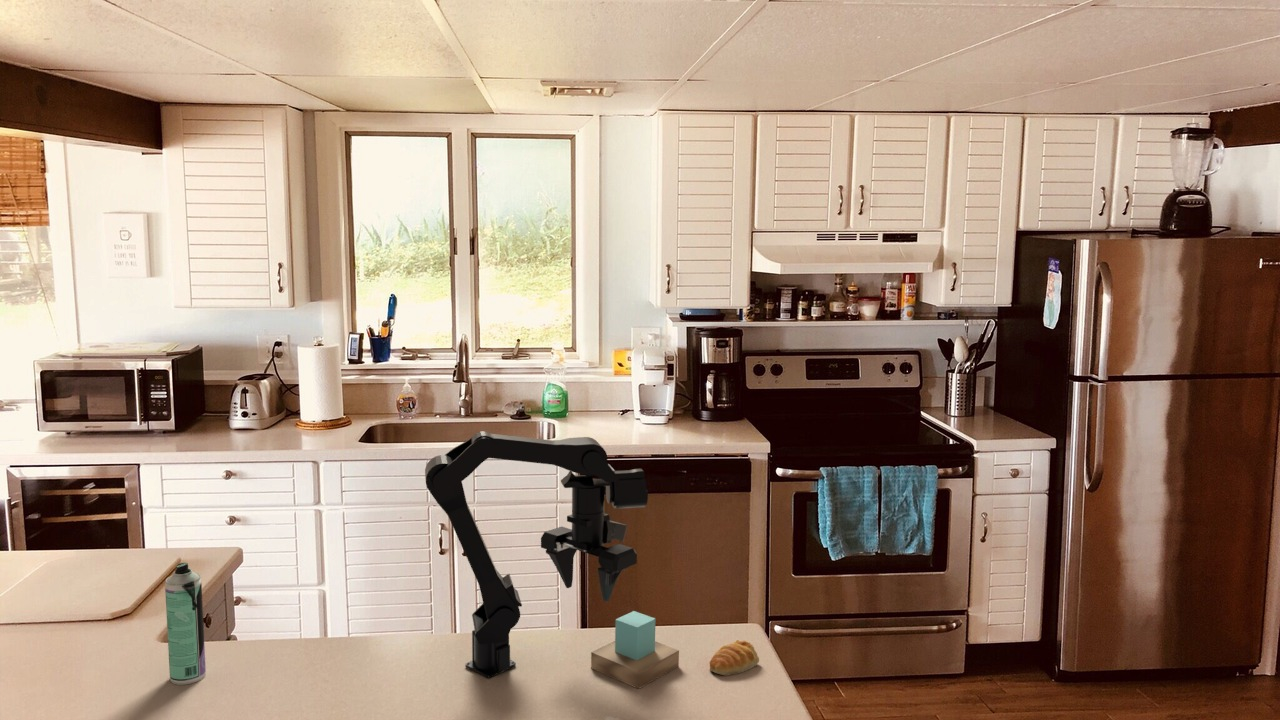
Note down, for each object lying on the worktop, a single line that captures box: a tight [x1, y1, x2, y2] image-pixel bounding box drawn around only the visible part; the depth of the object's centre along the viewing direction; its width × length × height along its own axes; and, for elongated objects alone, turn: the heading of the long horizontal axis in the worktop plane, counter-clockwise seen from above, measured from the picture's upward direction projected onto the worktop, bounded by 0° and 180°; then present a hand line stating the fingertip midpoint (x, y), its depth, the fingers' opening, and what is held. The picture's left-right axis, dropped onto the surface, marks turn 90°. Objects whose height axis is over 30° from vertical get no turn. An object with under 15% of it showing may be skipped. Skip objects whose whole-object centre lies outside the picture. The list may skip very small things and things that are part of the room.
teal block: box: [614, 610, 657, 660], centre depth 162 cm, size 5×5×6 cm
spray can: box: [164, 562, 207, 686], centre depth 156 cm, size 6×6×20 cm
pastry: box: [709, 639, 760, 676], centre depth 164 cm, size 9×7×4 cm
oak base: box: [590, 640, 680, 690], centre depth 163 cm, size 11×11×3 cm
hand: (587, 594), depth 165 cm, fingers open, 9 cm apart
